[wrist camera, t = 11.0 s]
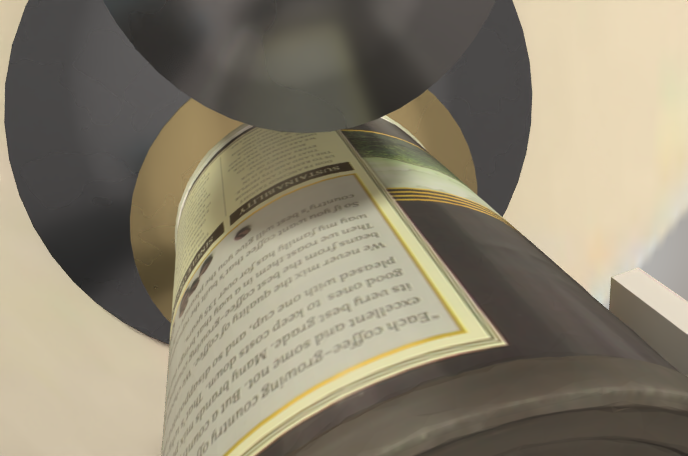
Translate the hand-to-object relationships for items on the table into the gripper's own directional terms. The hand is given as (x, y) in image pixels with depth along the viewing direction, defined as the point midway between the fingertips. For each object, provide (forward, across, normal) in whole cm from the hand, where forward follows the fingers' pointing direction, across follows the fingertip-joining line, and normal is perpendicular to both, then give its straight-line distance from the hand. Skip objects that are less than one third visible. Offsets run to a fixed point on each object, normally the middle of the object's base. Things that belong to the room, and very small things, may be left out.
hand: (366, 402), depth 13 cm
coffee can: (+9, +1, 0) cm, 9 cm away
